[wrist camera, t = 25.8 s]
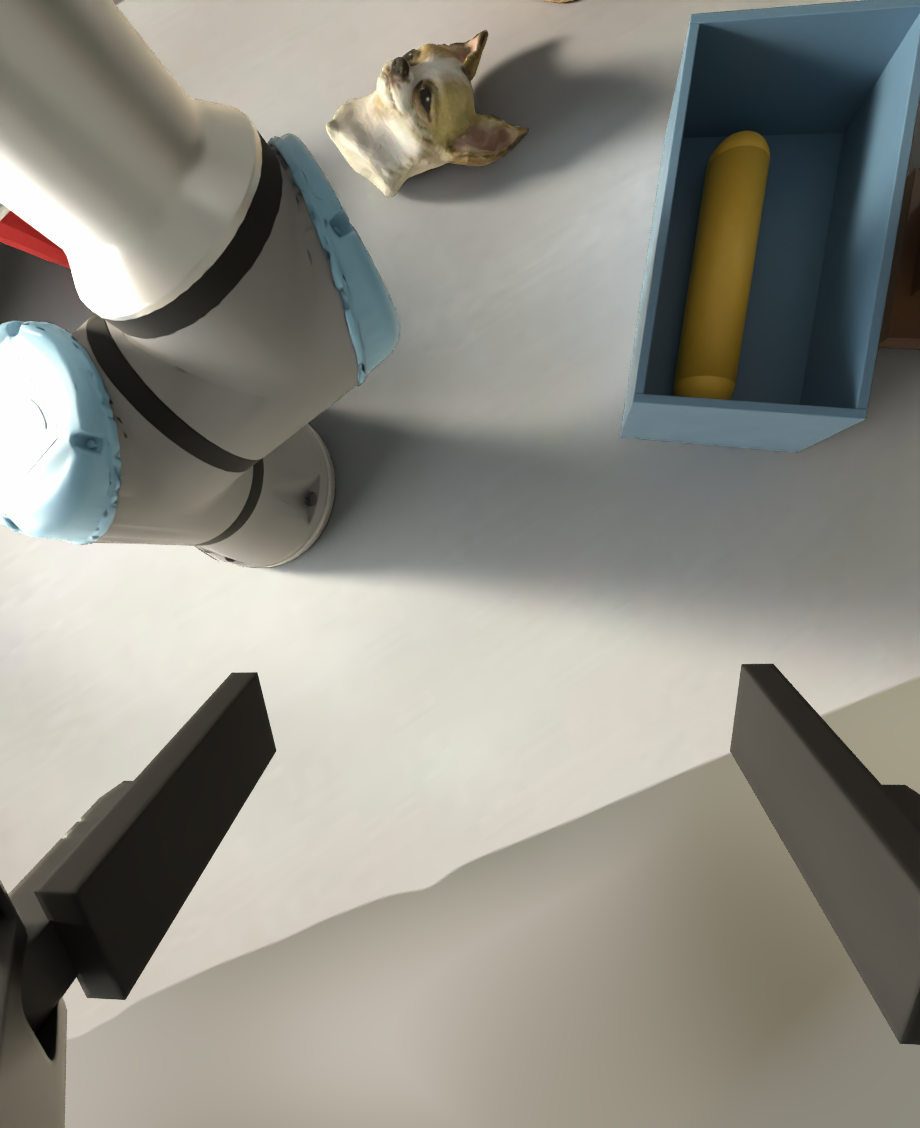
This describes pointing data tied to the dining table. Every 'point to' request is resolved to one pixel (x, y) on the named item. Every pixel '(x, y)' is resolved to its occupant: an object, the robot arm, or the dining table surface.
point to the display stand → (905, 275)
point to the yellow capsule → (722, 267)
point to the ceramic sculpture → (421, 118)
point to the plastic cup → (28, 238)
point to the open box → (784, 217)
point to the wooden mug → (559, 1)
